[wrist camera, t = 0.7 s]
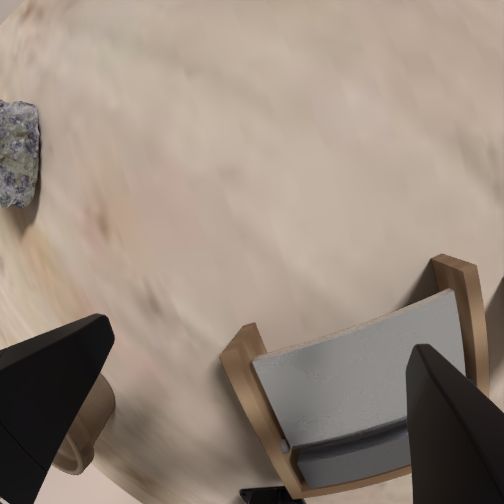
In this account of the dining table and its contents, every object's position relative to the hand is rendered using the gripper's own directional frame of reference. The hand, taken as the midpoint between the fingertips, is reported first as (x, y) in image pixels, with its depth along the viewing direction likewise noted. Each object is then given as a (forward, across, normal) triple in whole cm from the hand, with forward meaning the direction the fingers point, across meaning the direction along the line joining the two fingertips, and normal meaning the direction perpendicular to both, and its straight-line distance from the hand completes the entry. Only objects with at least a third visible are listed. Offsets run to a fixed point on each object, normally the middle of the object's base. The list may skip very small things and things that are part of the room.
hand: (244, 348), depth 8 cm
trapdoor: (+8, -6, +11) cm, 15 cm away
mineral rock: (+17, +31, -8) cm, 36 cm away
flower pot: (+9, +21, +19) cm, 30 cm away
